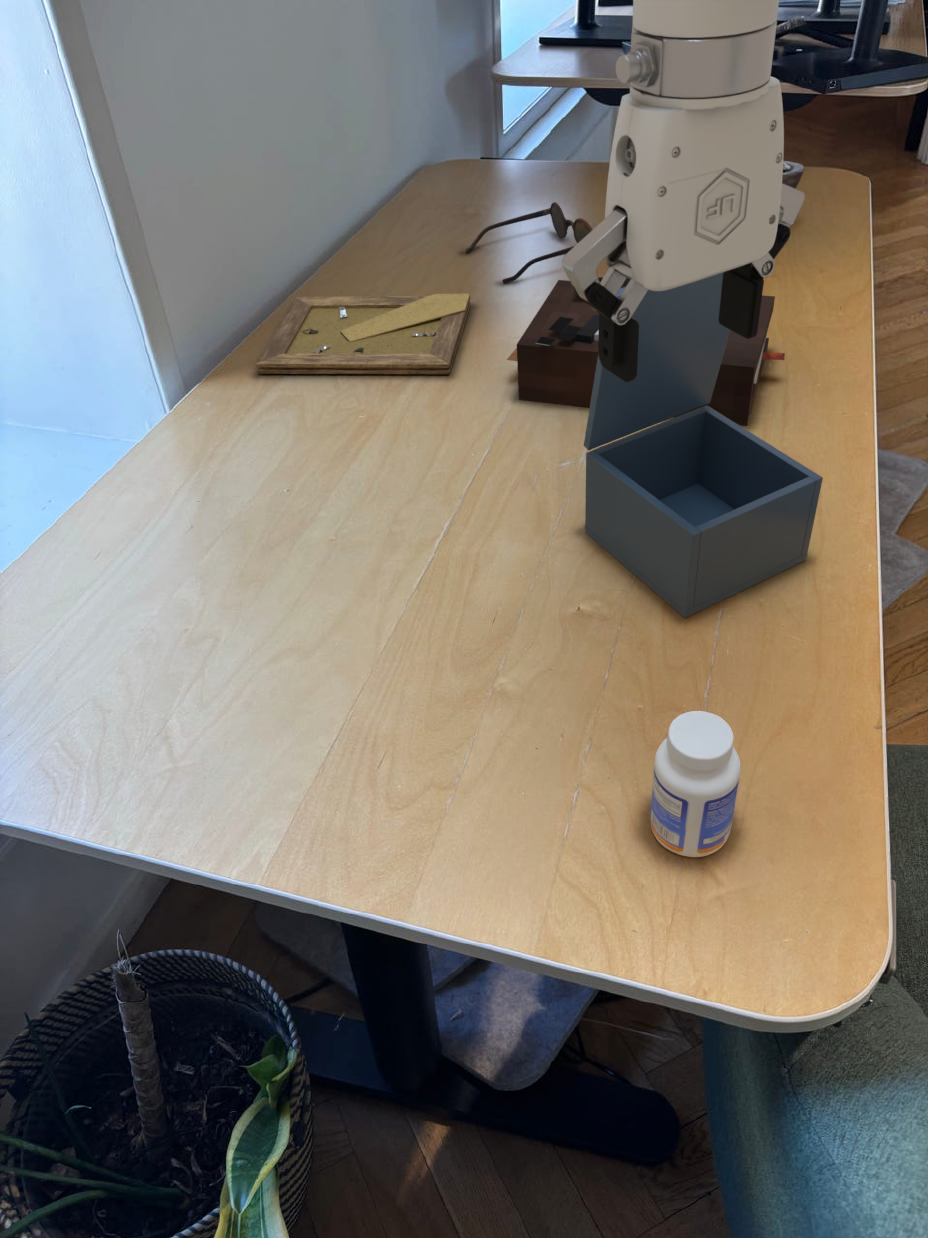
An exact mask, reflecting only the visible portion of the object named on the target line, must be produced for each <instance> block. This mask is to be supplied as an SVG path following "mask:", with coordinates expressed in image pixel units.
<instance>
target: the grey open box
mask: <svg viewBox="0 0 928 1238" xmlns="http://www.w3.org/2000/svg"><path fill="white" fill-rule="evenodd" d="M823 479H824V478H823V476H821V475H820V474H818V473H816V472H814V471H813V470H812V469H810V468H808V467H807V466H806V465H803V463H800V462H799V461H797V460H796V459H794V458H792V457H791V456H789V455H788V454H786V453H785V452H783V451H781V450H779V449H778V448H776V447H775V446H773V445H772V444H770V443H768V442H766V441H765V440H763V439H762V438H760V437H759V436H757V435H755V434H754V433H752V432H751V431H749V430H748V429H746V428H744V427H743V426H742V425H739V424H736V423H735V422H733V421H731V420H730V419H728V418H727V417H725V416H723V415H722V414H720V413H719V412H717V411H715V410H714V409H712V408H711V407H709V406H707V405H706V406H704V407H701V408H698V409H696V410H693V411H691V412H688V413H686V414H683V415H680V416H678V417H672V418H670V419H667V420H665V421H662V422H660V423H657V424H655V425H652V426H650V427H647V428H644V429H642V430H639V431H637V432H634V433H632V434H629V435H627V436H624V437H622V438H619V439H617V440H614V441H611V442H609V443H606V444H604V445H601V446H599V447H596V448H594V449H591V450H589V451H587V452H586V453H585V508H584V509H585V511H584V512H585V513H584V514H585V515H584V517H585V518H584V521H585V522H584V524H585V525H584V533H585V534H586V535H588V537H590V538H591V539H592V540H593V541H594V542H595V543H596V544H598V546H601V548H602V549H604V551H606V552H607V553H608V554H610V555H611V556H612V557H613V558H614V559H615V560H616V561H618V562H619V563H620V564H621V565H622V566H623V567H625V568H626V569H627V570H628V571H629V572H631V573H632V574H633V576H635V577H636V578H637V579H639V580H640V581H641V582H642V583H643V584H644V585H646V586H647V587H648V589H650V590H651V591H652V592H654V593H655V594H656V595H657V596H659V598H660V599H662V600H663V601H664V602H665V603H667V604H668V605H669V606H670V607H671V608H672V609H673V610H675V611H676V612H677V613H678V614H679V615H681V616H682V617H683V619H686V618H688V617H691V616H693V615H695V614H698V613H699V612H701V611H703V610H705V609H707V608H710V607H712V606H713V605H715V604H717V603H719V602H722V601H724V600H727V599H728V598H730V597H732V596H734V595H737V594H739V593H741V592H743V591H745V590H747V589H749V588H751V587H753V586H755V585H758V584H759V583H761V582H763V581H766V580H767V579H770V578H772V577H774V576H775V575H779V574H781V573H783V572H784V571H786V570H789V569H790V568H793V567H795V566H797V565H799V564H801V563H803V562H805V561H807V559H808V553H809V547H810V542H811V539H812V538H811V537H812V532H813V529H814V523H815V520H816V519H815V518H816V514H817V508H818V504H819V499H820V494H821V489H822V484H823Z"/></svg>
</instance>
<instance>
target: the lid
mask: <svg viewBox="0 0 928 1238" xmlns="http://www.w3.org/2000/svg"><path fill="white" fill-rule="evenodd" d="M722 280H723V273H720V274H717V275H713V276H710V277H707V278H704V279H701V280H698V281H695V282H692V283H689V284H686V285H683V286H679V287H676V288H673V289H669V290H665V291H652V290H649V289H648V291H647V293H646V294H645V296H644V297H643V299H642V301H641V302H640V304H639V305H638V307H637V309H636V310H635V312H634V313H633V315H632V317H631V318H632V319H634V320H635V321H637V322H638V324H639V340H638V362H637V376H636V377H635V379H634V380H632V381H629V382H625V381H623V380H622V379H620V378H619V377H617V376H616V375H614V374H613V373H611V372H610V371H608V370H607V369H606V368H604V367H603V366H602V365H601V362H600V359H599V356H598V359H597V366H596V372H595V378H594V384H593V390H592V396H591V403H590V407H589V409H588V414H587V415H588V416H587V421H586V428H585V429H586V430H585V435H584V440H583V447H584V448H585V449H586V450H587V451H592V450H594V449H597V448H599V447H602V446H604V445H607V444H609V443H612V442H614V441H617V440H620V439H622V438H625V437H627V436H630V435H632V434H635V433H637V432H640V431H642V430H645V429H647V428H650V427H653V426H655V425H658V424H660V423H663V422H665V421H668V420H670V419H673V418H675V416H678V415H680V414H683V413H685V412H688V411H690V410H693V409H695V408H698V407H700V406H703V405H706V404H708V403H710V401H711V397H712V394H713V390H714V386H715V383H716V379H717V376H718V372H719V369H720V365H721V362H722V358H723V355H724V351H725V348H726V344H727V341H728V337H729V333H730V329H728V328H726V327H724V326H723V325H721V324H720V323H719V310H720V300H721V290H722ZM629 281H630V279H628V278H627V277H626V280H625V281H624V283H623V285H622V286H621V289H619V291H618V293H617V294H616V297H617V298H618V299H619V298H620V296H621V294H622V293H623V291H624V289H625V288H626V286H627V285H628V283H629Z"/></svg>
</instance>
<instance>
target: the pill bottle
mask: <svg viewBox="0 0 928 1238" xmlns="http://www.w3.org/2000/svg"><path fill="white" fill-rule="evenodd" d="M734 738H735V737H734V732H733V730H732V728H731V726H730V724H729V723H728V722H727V721H725V719H724V718H722V717H721V716H719V715H717V714H715V713H712V712H709V711H704V710H692V711H687V712H683V713H681V714H679V715H678V716H677V717H675V718H674V719H673V720H672V722H671V723H670V724H669V727H668V731H667V737H666V738H664V740H663V741H662V742H661V743H660V744H659V746H658V748H657V750H656V752H655V755H654V756H655V757H654V761H653V763H654V764H653V775H652V788H651V800H650V801H651V802H650V815H649V816H650V817H649V819H650V827H651V832H652V834H653V836H654V837H655V839H656V841H658V843H659V844H661V846H663V847H664V848H665V849H667V850H669V851H670V852H672V853H674V854H677V855H680V856H683V857H689V858H702V857H706V856H710V855H712V854H714V853H716V852H717V851H719V850H720V849H721V848H722V847H723V846H724V845H725V844H726V842H727V841H728V840H729V836H730V834H731V829H732V825H733V819H734V813H735V807H736V800H737V796H738V789H739V783H740V779H741V771H742V770H741V765H742V764H741V760H740V757H739V754H738V752H737V750H736V749H735V747H734V741H735V739H734Z"/></svg>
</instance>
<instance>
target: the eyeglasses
mask: <svg viewBox="0 0 928 1238" xmlns="http://www.w3.org/2000/svg"><path fill="white" fill-rule="evenodd" d="M548 215H550V218H551V222H552V226H553V229H554V230H555V233H556V234H557V236H558V237H559V238H560V239H565V238H566V237H567V234H568V229H569V227H571V228H572V231H573V238H574V241H575V242H576V245H577V244H578V243H579V242H580V241H581V240H582V239H583V238H584V237H585V236H587V235H588V234H589V233H590V232H591V231H592V230H593V228H592V226H591V225H590V223H589V222H588V221H587V220H586V219H584V218H581V217H578V218H576V219H575V220H574V221H572V220H571V219H566V217H565V214H564V212H563V210H562V208H561V206H560V204H558V202H556V201H554V202H551V204H550V207H548V208H545V209H542V210H538V211H534V212H531V213H528V214H524V215H520V216H516V217H514V218H509V219H506V220H503V221H500V222H497V223H493V224H491V225H489V226H486V227H485V228H483V229H482V230H481V231H480V232H479V234H478V235H477V237H475V239H474V240H473V242H472V243H471V245H469V246H468V247H467V248H466V249H465V253H466V254H469V253H470V252H471V251H473V250H474V249H475V247H476V246H477V244H479V242H480V240H482V238H483V237H484V236H485V234H487V233H488V232H489V231H491V230H494V229H499V228H501V227H505V226H508V225H512V224H517V223H520V222H525V221H529V220H533V219H538V218H541V217H544V216H548ZM574 246H575V245H573V246H569V247H566V248H562V249H560V250H557V251H553V252H550V253H547V254H543V255H541V256H537V257H535V258H533V259H530V260H529V261H528V262H526V263H525V264H524V265H523V266H522V267H521V268H520V269H519V270H518V271H517V272H516V273H515V274H514V275H512V276H509V277H506V278H503V279H502V284H508V283H512V282H514V281H516V280H517V279H519V278H520V277H521V276H522V275H523V274H524V273H525V272H526V271H527V270H528V269H529V268H530V267H531V266H533V265H534V264H537V263H540V262H543V261H546V260H549V259H552V258H555V257H556V258H557V257H559V256H565V255H566V254H567V253H568V252H569V251H570V250H571V249H572V248H573V247H574Z"/></svg>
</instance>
